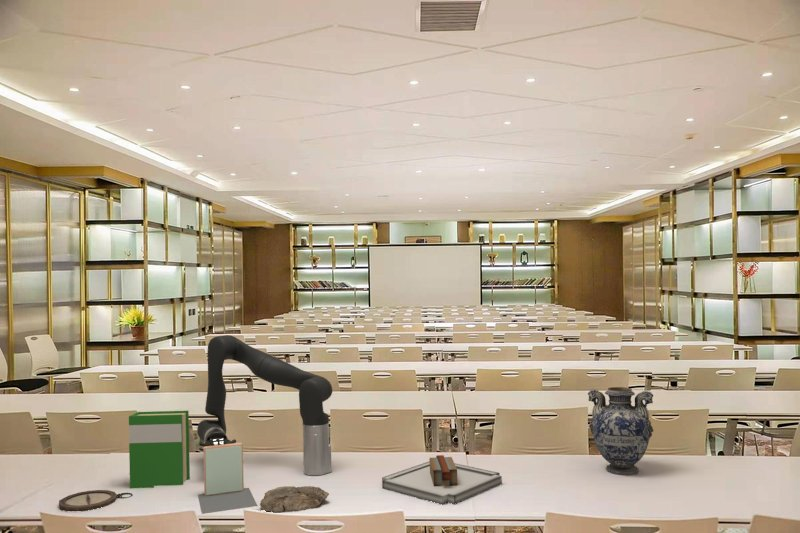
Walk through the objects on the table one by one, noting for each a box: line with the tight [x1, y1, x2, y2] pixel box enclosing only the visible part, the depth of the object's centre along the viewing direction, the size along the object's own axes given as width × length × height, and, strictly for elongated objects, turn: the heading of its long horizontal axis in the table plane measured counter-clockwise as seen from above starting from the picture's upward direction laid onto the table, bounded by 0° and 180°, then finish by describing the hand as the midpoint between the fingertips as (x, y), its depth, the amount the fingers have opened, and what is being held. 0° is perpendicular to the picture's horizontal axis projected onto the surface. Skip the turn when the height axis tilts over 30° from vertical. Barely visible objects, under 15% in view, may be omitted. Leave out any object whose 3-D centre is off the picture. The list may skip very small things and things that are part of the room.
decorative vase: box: [587, 386, 654, 476], centre depth 223 cm, size 21×19×28 cm
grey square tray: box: [381, 454, 503, 506], centre depth 213 cm, size 30×30×8 cm
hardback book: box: [128, 410, 191, 489], centre depth 222 cm, size 18×7×24 cm, turn 90°
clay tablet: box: [259, 485, 330, 513], centre depth 198 cm, size 14×5×20 cm
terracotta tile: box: [202, 442, 245, 496], centre depth 209 cm, size 12×3×15 cm, turn 111°
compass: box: [58, 489, 134, 512], centre depth 204 cm, size 20×16×2 cm
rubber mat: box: [197, 487, 258, 515], centre depth 201 cm, size 16×19×1 cm
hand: (220, 451), depth 216 cm, fingers closed
